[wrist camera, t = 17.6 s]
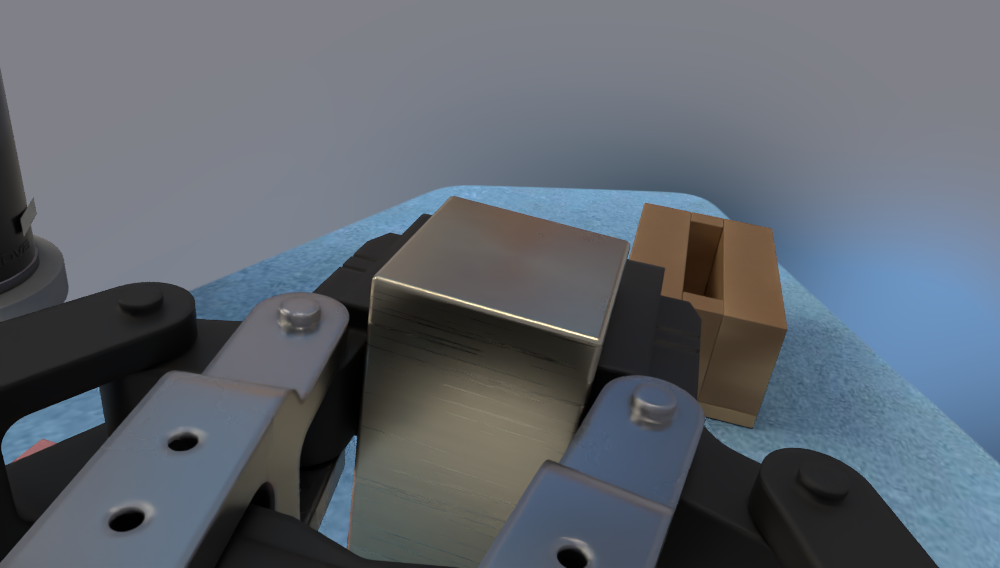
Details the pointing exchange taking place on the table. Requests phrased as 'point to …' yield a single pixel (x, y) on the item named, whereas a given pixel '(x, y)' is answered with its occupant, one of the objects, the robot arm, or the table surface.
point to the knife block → (721, 301)
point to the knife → (474, 376)
